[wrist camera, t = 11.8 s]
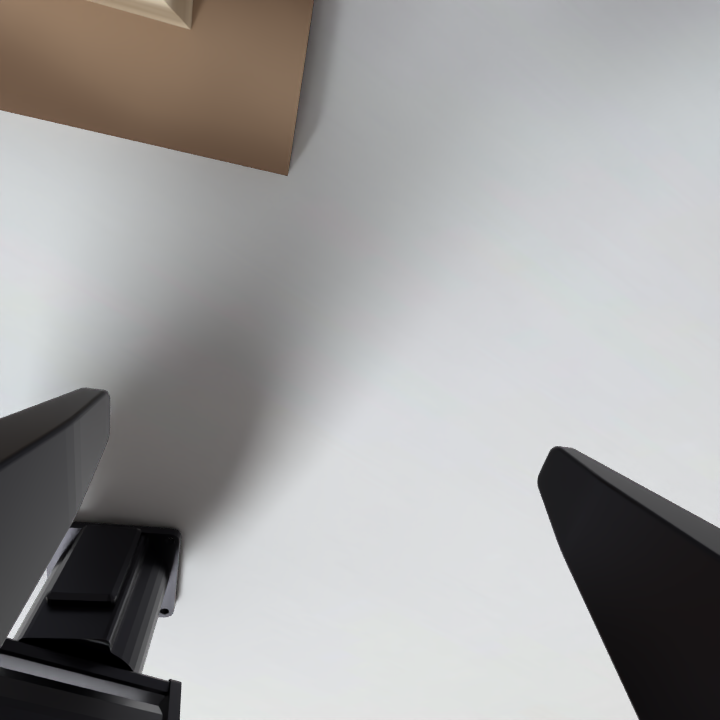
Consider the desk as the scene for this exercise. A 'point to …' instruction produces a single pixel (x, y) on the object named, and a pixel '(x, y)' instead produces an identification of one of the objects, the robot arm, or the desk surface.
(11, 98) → the walnut base
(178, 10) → the birch cube
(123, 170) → the desk surface
